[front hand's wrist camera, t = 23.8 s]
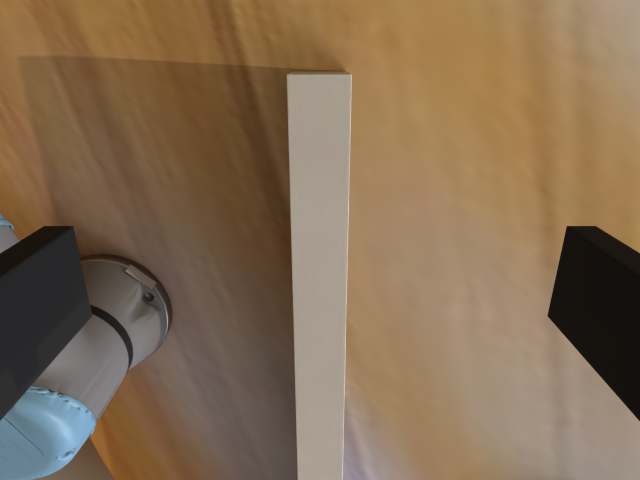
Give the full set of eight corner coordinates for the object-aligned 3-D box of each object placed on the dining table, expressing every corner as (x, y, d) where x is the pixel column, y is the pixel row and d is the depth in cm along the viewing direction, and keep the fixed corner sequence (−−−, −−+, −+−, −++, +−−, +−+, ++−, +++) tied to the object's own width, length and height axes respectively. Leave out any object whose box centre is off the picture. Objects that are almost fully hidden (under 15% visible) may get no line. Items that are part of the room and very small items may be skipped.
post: (291, 71, 49) (286, 74, 41) (346, 71, 49) (351, 74, 41) (303, 575, 79) (301, 631, 72) (337, 575, 79) (339, 630, 72)
